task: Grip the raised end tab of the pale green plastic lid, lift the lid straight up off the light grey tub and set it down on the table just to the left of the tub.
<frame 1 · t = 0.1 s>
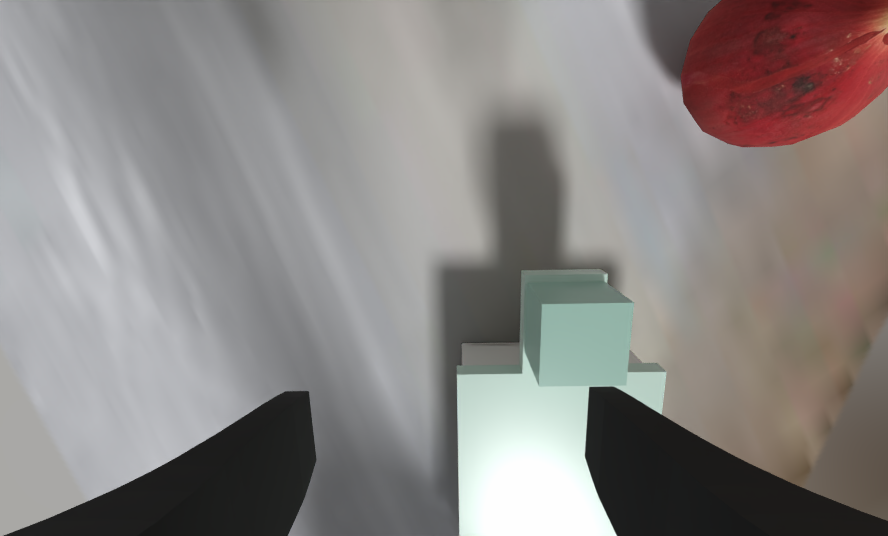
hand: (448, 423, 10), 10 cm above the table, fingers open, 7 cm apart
tub: (537, 445, 22), on the table
lid: (550, 487, 19), point 3 cm above the table, touching tub
onion: (710, 82, 18), on the table
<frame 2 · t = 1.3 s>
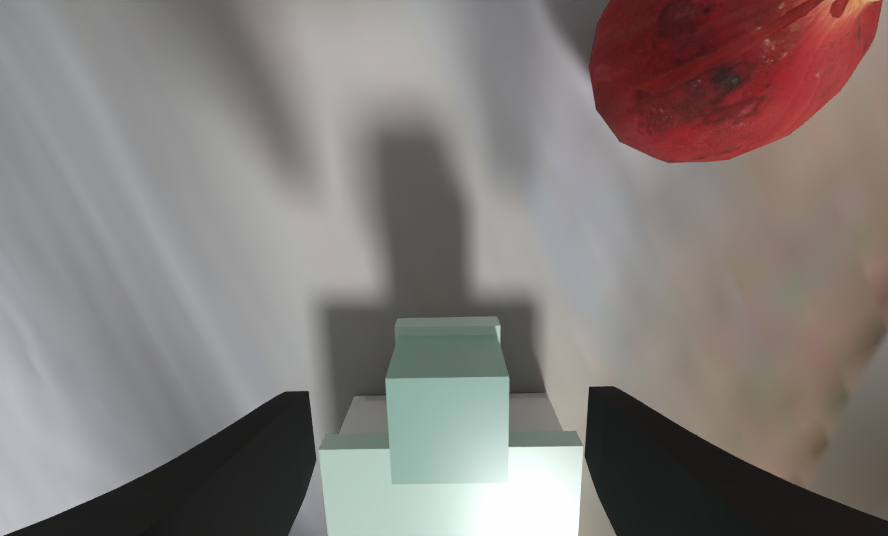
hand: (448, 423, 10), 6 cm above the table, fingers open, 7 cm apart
tub: (452, 514, 18), on the table
onion: (641, 80, 14), on the table
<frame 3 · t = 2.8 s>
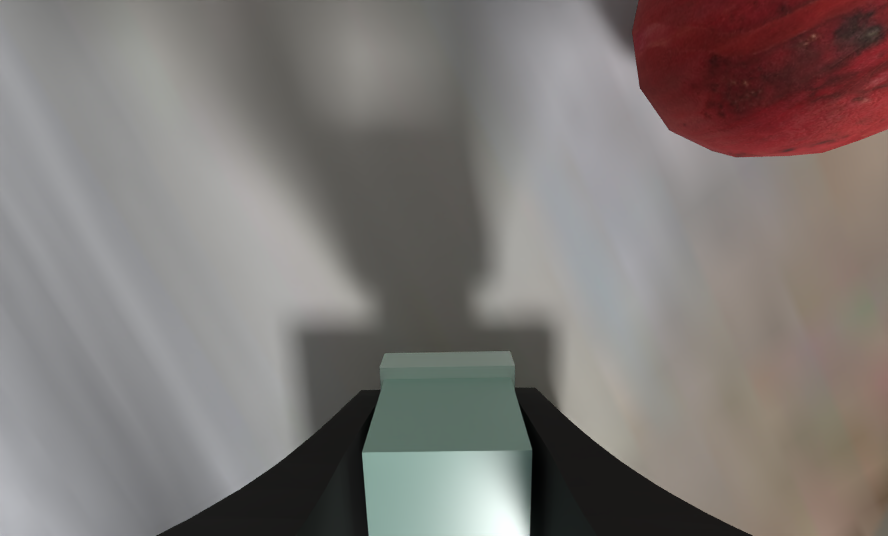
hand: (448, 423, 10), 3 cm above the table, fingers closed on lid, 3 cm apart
onion: (686, 56, 12), on the table
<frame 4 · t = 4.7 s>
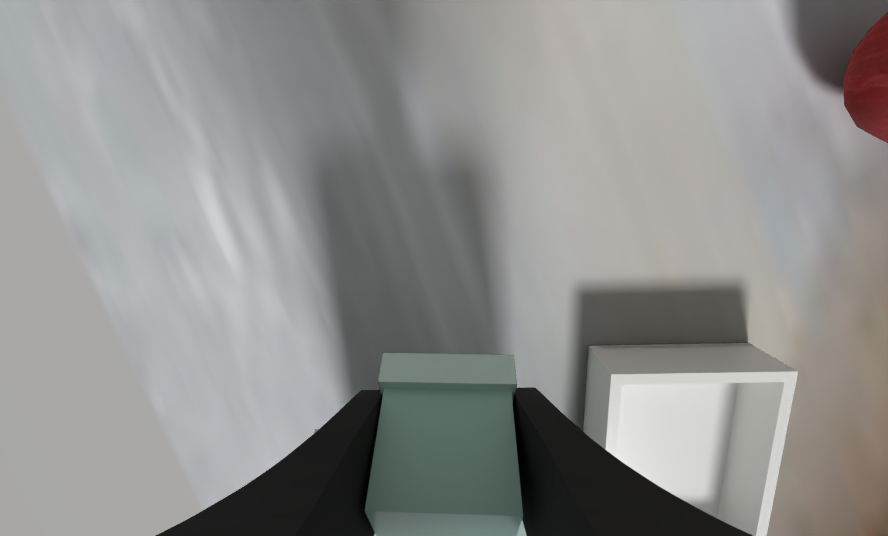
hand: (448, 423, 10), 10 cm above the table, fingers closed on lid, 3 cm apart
tub: (656, 447, 22), on the table
lid: (452, 500, 17), point 5 cm above the table, tilted 30°, touching gripper
onion: (855, 84, 18), on the table
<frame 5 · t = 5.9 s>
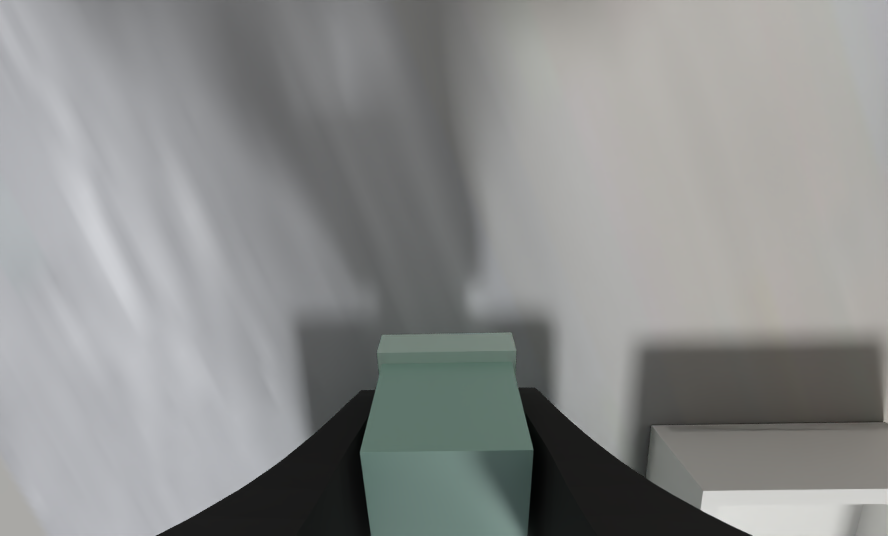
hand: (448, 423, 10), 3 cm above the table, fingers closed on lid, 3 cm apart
when the fingers open (3 cm above the table, at t = 6.6 s): lid stays where it is, point 1 cm above the table.
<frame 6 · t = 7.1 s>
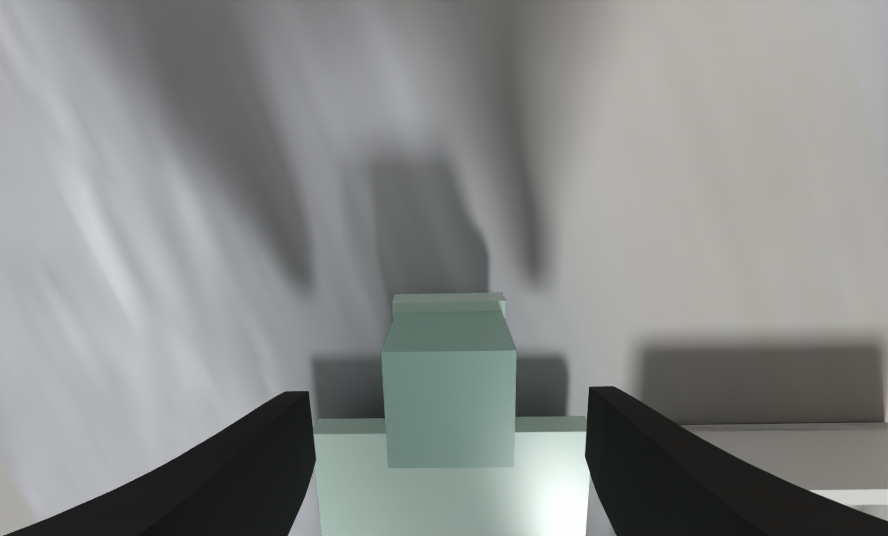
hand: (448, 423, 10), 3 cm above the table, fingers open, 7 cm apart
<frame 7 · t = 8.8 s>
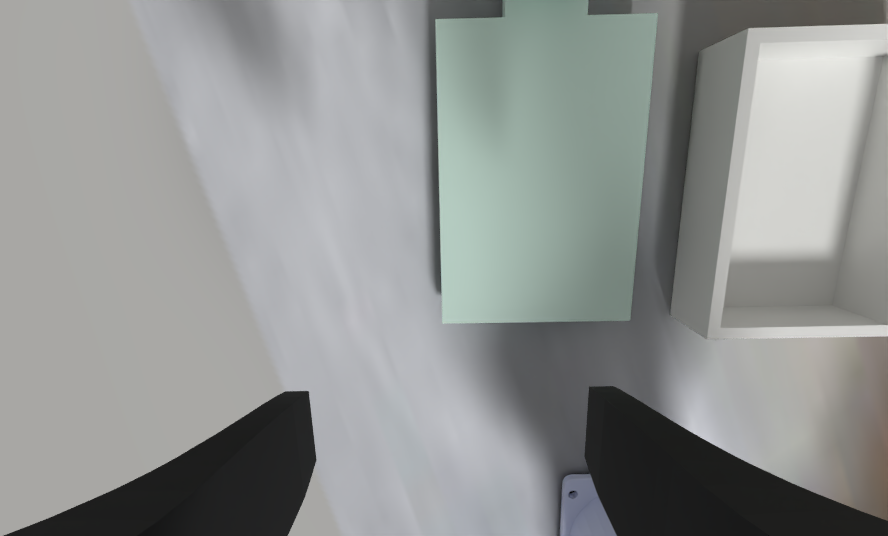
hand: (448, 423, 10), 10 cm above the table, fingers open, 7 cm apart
tub: (770, 190, 19), on the table
lid: (536, 181, 18), point 1 cm above the table
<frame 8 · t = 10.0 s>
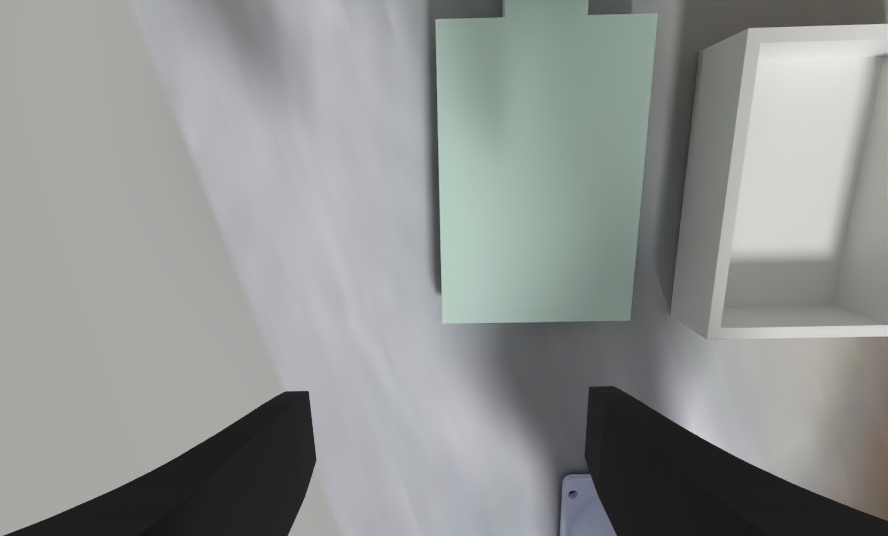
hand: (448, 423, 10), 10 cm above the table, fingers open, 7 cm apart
tub: (770, 190, 19), on the table
lid: (536, 181, 18), point 1 cm above the table
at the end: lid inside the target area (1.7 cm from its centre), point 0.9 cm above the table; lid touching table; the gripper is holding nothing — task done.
